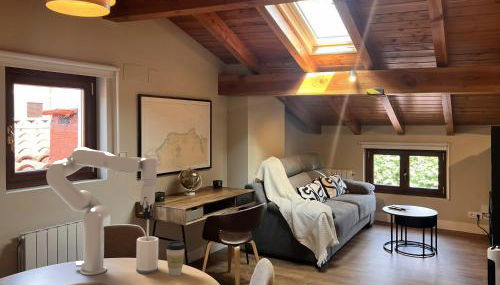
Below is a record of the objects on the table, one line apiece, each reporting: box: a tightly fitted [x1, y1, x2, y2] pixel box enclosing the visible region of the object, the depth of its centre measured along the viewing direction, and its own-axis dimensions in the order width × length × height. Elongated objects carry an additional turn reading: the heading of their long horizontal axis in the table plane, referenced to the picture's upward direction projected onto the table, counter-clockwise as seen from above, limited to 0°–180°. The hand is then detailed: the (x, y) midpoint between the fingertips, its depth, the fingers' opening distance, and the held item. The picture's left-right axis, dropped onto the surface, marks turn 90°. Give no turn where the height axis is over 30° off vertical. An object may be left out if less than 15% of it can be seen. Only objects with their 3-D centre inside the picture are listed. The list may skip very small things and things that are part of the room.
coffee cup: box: [165, 240, 187, 277], centre depth 208 cm, size 10×10×15 cm
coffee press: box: [135, 235, 159, 275], centre depth 213 cm, size 11×13×16 cm
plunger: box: [146, 209, 153, 241], centre depth 211 cm, size 7×7×18 cm
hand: (148, 217), depth 211 cm, fingers closed on plunger, 3 cm apart
